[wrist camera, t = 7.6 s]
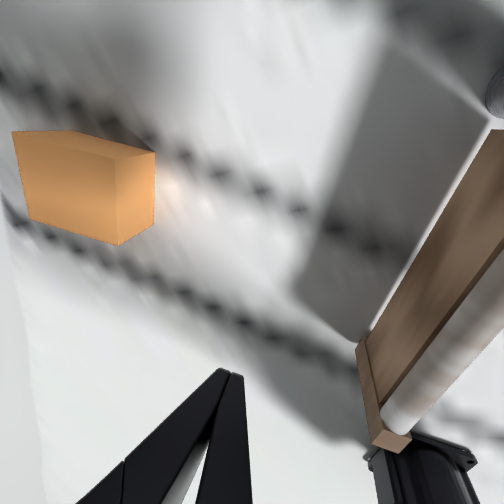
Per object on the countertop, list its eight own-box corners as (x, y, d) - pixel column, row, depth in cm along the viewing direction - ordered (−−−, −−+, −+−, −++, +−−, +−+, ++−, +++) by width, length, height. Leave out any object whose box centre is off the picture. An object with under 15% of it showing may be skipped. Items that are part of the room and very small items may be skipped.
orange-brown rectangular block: (156, 152, 17) (114, 159, 13) (154, 223, 19) (118, 246, 15) (73, 130, 17) (11, 131, 14) (81, 202, 20) (29, 219, 16)
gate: (482, 128, 12) (628, 132, 6) (514, 136, 12) (692, 145, 6) (355, 350, 19) (371, 444, 13) (374, 356, 19) (398, 453, 13)
